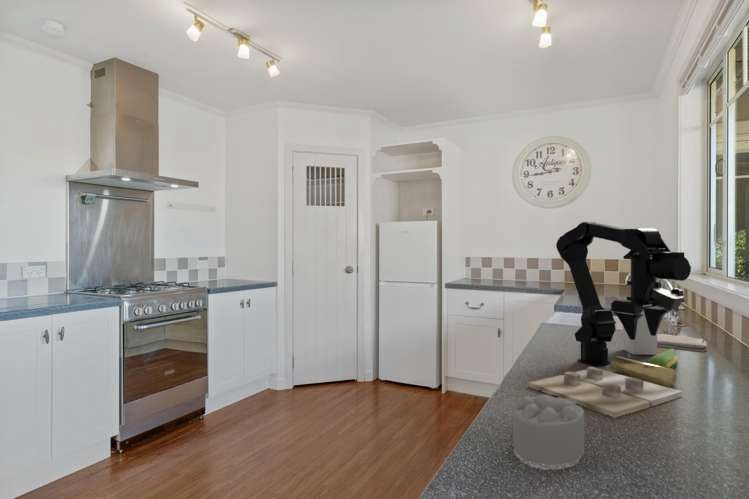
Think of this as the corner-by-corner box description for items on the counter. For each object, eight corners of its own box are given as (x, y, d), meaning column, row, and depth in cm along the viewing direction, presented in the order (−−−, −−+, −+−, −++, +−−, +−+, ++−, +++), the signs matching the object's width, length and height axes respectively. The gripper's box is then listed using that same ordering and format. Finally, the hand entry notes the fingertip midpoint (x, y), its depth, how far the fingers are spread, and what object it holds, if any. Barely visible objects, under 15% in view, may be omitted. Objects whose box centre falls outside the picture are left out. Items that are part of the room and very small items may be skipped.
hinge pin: (611, 374, 118) (610, 358, 117) (621, 370, 120) (620, 354, 120) (666, 389, 105) (665, 371, 105) (676, 384, 108) (675, 366, 107)
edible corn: (644, 358, 117) (663, 356, 114) (663, 347, 131) (681, 345, 128) (650, 378, 116) (669, 376, 113) (669, 365, 130) (687, 363, 127)
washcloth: (707, 353, 139) (707, 344, 138) (641, 346, 149) (641, 337, 149) (706, 346, 148) (706, 337, 148) (644, 340, 159) (644, 331, 159)
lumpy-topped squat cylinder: (590, 448, 75) (590, 398, 75) (564, 479, 66) (564, 422, 65) (531, 431, 82) (530, 386, 82) (500, 457, 72) (499, 405, 72)
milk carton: (645, 349, 142) (645, 291, 142) (657, 355, 135) (657, 294, 135) (622, 349, 143) (622, 291, 143) (633, 355, 136) (633, 294, 136)
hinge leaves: (528, 387, 107) (528, 372, 107) (593, 371, 119) (593, 358, 119) (614, 418, 88) (614, 400, 88) (682, 396, 100) (682, 380, 99)
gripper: (655, 281, 101) (655, 349, 101) (697, 277, 110) (697, 339, 110) (609, 278, 110) (609, 339, 111) (651, 274, 119) (651, 331, 120)
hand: (642, 337), depth 113 cm, fingers open, 9 cm apart
